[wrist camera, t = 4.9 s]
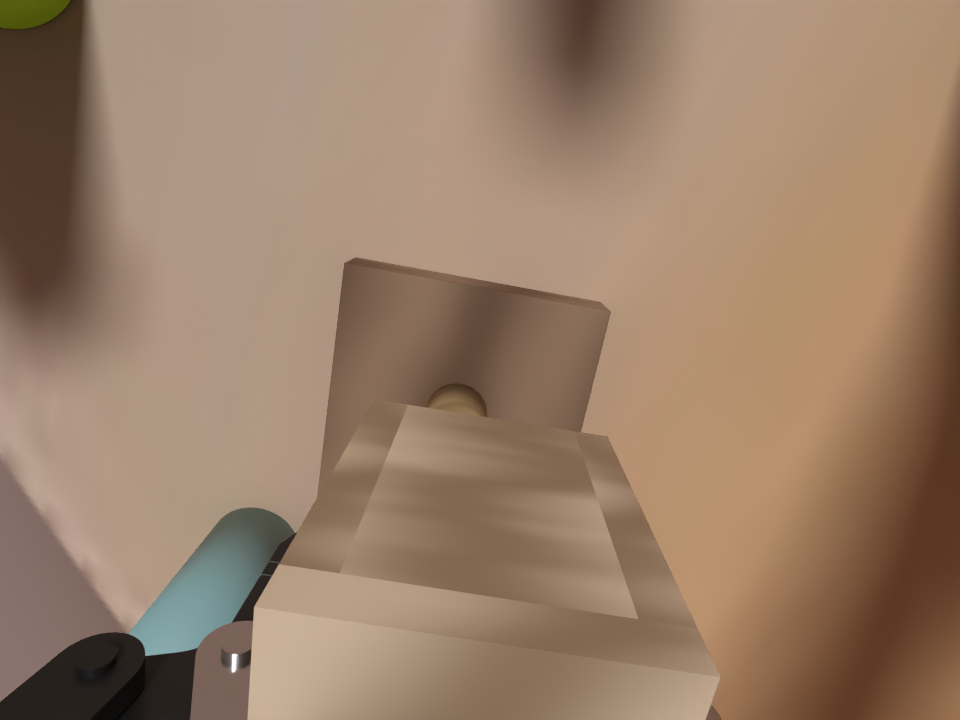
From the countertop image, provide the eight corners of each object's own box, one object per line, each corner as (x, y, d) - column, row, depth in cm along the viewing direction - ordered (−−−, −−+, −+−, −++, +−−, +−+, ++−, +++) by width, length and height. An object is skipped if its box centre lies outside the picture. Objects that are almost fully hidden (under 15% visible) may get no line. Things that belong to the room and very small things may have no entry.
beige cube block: (607, 436, 13) (720, 677, 7) (549, 669, 15) (593, 1034, 9) (374, 399, 13) (254, 607, 7) (346, 638, 15) (232, 985, 9)
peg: (302, 515, 26) (212, 675, 17) (294, 588, 27) (206, 774, 18) (214, 501, 26) (78, 656, 17) (209, 575, 27) (80, 757, 18)
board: (600, 302, 23) (640, 337, 17) (490, 748, 30) (493, 882, 24) (355, 257, 23) (313, 278, 17) (299, 721, 29) (255, 851, 23)
